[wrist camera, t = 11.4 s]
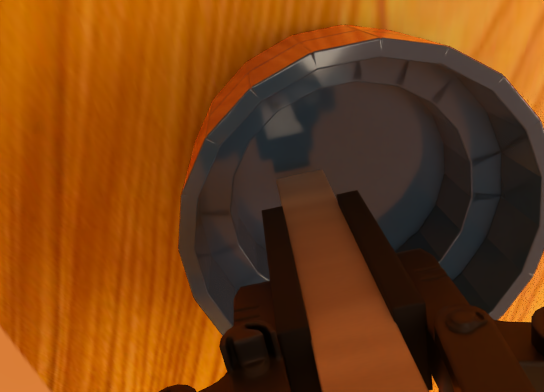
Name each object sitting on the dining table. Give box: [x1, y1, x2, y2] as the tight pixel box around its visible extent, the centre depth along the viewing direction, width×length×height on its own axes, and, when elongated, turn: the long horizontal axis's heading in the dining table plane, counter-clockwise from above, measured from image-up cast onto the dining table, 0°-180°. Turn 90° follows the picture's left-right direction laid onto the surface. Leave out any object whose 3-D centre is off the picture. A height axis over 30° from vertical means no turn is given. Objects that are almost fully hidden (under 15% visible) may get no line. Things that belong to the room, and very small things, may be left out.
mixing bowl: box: [178, 25, 544, 335], centre depth 21 cm, size 14×14×6 cm
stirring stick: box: [276, 170, 429, 392], centre depth 12 cm, size 2×2×18 cm
